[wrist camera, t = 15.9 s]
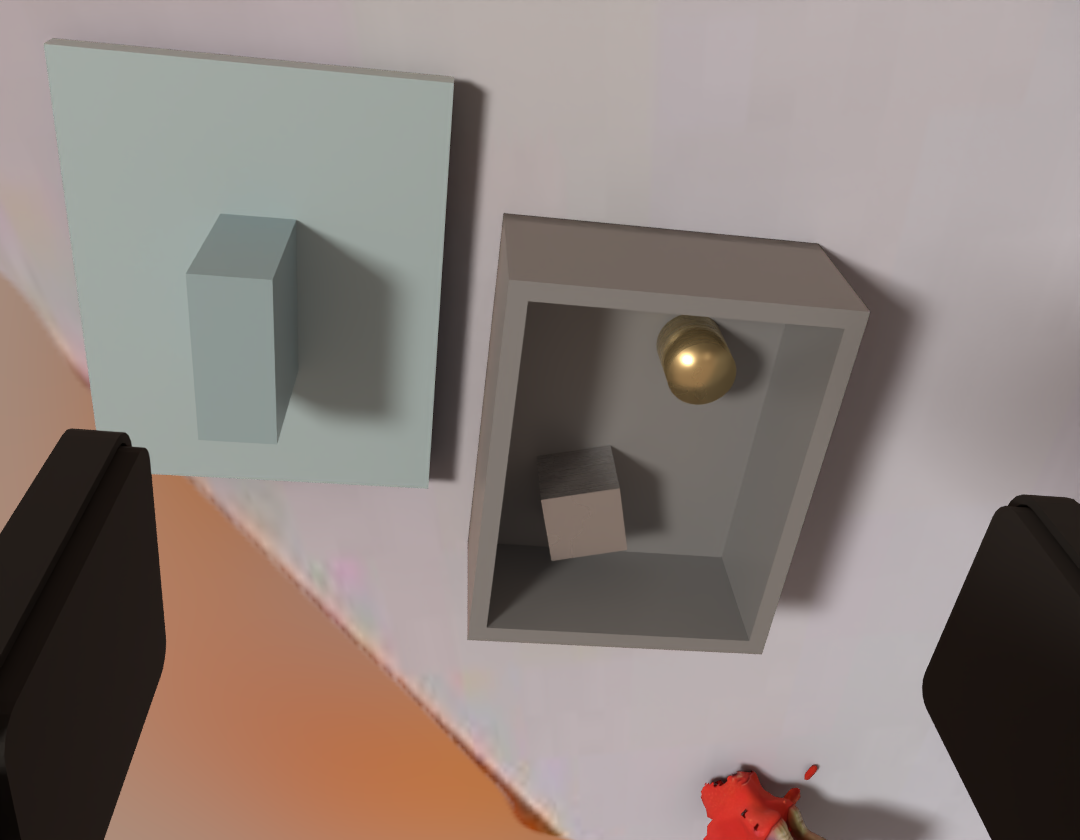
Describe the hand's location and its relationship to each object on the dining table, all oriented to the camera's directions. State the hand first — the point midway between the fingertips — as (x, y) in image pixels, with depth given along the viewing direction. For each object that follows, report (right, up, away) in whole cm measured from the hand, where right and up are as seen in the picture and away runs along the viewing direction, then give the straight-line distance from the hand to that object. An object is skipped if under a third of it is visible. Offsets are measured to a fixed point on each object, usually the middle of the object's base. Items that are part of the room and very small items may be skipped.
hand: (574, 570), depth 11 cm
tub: (+4, +2, +38) cm, 38 cm away
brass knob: (+6, +5, +35) cm, 36 cm away
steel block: (+2, -1, +39) cm, 39 cm away
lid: (-12, +8, +34) cm, 37 cm away
